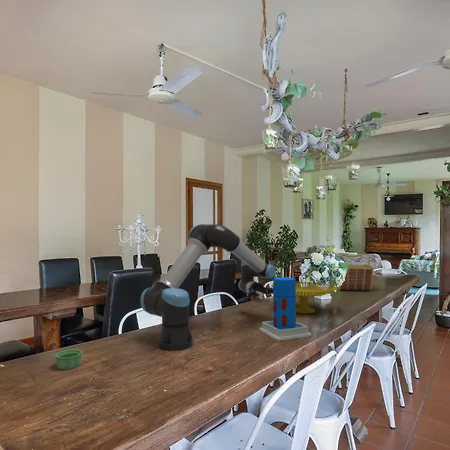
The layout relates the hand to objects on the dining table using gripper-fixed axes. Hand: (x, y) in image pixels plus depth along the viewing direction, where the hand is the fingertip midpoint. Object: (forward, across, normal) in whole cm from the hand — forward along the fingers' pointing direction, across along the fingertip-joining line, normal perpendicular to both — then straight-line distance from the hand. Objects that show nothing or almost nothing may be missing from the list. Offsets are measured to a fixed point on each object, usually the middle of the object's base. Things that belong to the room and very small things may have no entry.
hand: (274, 295), depth 180 cm
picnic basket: (-78, -121, -17) cm, 145 cm away
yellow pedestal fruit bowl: (-28, -37, -17) cm, 49 cm away
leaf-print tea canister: (+9, 0, -16) cm, 18 cm away
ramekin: (+15, +95, -17) cm, 98 cm away
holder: (+10, 0, -17) cm, 19 cm away
